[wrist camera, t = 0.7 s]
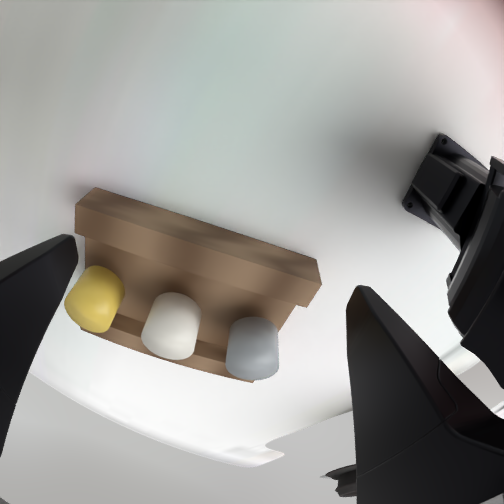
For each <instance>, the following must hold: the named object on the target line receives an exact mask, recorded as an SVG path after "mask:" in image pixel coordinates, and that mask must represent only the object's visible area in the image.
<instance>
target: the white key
mask: <svg viewBox="0 0 504 504" xmlns="http://www.w3.org/2000/svg"><path fill="white" fill-rule="evenodd" d="M201 315H202V314H201V309H200V307H199V306H198V304H197V303H196V302H195V301H194V300H192V299H191V298H189V297H188V296H186V295H183V294H180V293H175V292H168V293H163V294H161V295H159V296H158V297H157V298H156V299H155V301H154V303H153V305H152V308H151V310H150V313H149V315H148V318H147V321H146V323H145V326H144V328H143V331H142V334H141V339H142V342H143V344H144V345H145V346H146V347H147V348H148V349H149V350H150V351H151V352H153V353H154V354H156V355H158V356H160V357H163V358H166V359H172V360H181V359H185V358H188V357H190V356H191V355H192V354H193V352H194V348H195V343H196V339H197V334H198V330H199V325H200V321H201Z"/></svg>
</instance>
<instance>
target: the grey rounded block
mask: <svg viewBox="0 0 504 504" xmlns="http://www.w3.org/2000/svg"><path fill="white" fill-rule="evenodd" d="M225 365H226V369H227V370H228V372H230V373H231V374H232V375H234V376H236V377H238V378H241V379H246V380H261V379H266V378H269V377H271V376H272V375H274V374H275V373H276V372H277V371H278V368H279V353H278V330H277V328H276V326H275V325H274V324H273V323H272V322H271V321H269V320H267V319H264V318H260V317H245V318H242V319H239V320H237V321H235V322H234V323H233V324H232V325H231V327H230V331H229V339H228V347H227V355H226V364H225Z"/></svg>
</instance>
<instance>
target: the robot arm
mask: <svg viewBox="0 0 504 504" xmlns="http://www.w3.org/2000/svg"><path fill="white" fill-rule="evenodd" d="M443 138H444V142H443V143H442V142H441V141H442V139H443ZM490 165H491V166H490V170H488V169H487V168H486V167H484V166H483V165H482V164H481V163H480V162H479V161H478V160H477V159H475V158H474V157H473V156H472V155H471V154H469V153H468V152H467V151H466V150H465V149H463V148H462V147H461V146H460V145H458V144H457V143H456V142H455V141H453V140H452V139H451V138H449V137H448V136H447V135H444V134H439V135H438V136H437V137H436V139H435V141H434V144H433V146H432V148H431V149H430V151H429V153H428V154H427V155H426V157H425V159H424V161H423V163H422V165H421V167H420V169H419V171H418V172H417V174H416V176H415V178H414V180H413V182H412V185H411V187H410V189H409V191H408V192H407V194H406V196H405V198H404V199H403V202H402V206H403V208H404V209H405V210H406V211H408V212H410V213H412V214H414V215H416V216H417V217H419V218H421V219H423V220H425V221H427V222H428V223H430V224H432V225H434V226H436V227H437V228H439V229H441V230H442V231H443V232H444V233H445V235H446V236H447V237H448V238H449V239H450V240H451V242H452V243H453V244H454V245H455V246H456V248H457V249H458V250H459V251H460V255H459V257H458V259H457V262H456V264H455V266H454V268H453V270H452V272H451V273H449V275H448V278H447V280H446V282H447V286H448V293H447V296H448V302H449V306H450V308H449V310H448V314H449V317H450V319H451V321H452V322H453V324H454V326H455V327H456V329H457V330H458V331H459V333H460V334H461V336H462V337H463V339H462V340H461V342H460V344H461V346H463V347H464V348H466V349H467V350H469V351H470V352H472V353H474V354H475V355H476V356H477V357H478V358H479V359H480V360H481V361H483V362H484V363H485V365H486V366H487V367H488V368H489V370H490V371H491V373H492V374H493V376H494V377H495V379H496V380H497V382H498V383H499V385H500V386H501V388H503V389H504V161H503V160H501V159H499V158H496V157H494V156H491V160H490ZM409 202H411V204H410V205H409V206H407V204H408V203H409ZM77 263H78V252H77V247H76V242H75V238H74V237H73V236H72V235H68V234H61V235H59V236H56V237H54V238H52V239H49V240H47V241H45V242H42V243H40V244H38V245H35V246H33V247H31V248H29V249H26V250H24V251H22V252H20V253H18V254H15V255H13V256H11V257H9V258H7V259H5V260H3V261H1V262H0V457H1V454H2V451H3V447H4V443H5V439H6V435H7V432H8V429H9V425H10V421H11V419H12V416H13V412H14V409H15V406H16V403H17V400H18V397H19V395H20V392H21V389H22V386H23V383H24V381H25V379H26V376H27V374H28V371H29V369H30V366H31V364H32V361H33V359H34V357H35V354H36V352H37V350H38V348H39V345H40V343H41V341H42V339H43V337H44V334H45V332H46V330H47V328H48V326H49V324H50V322H51V320H52V318H53V316H54V314H55V312H56V310H57V308H58V306H59V304H60V302H61V300H62V298H63V296H64V293H65V291H66V288H67V286H68V284H69V281H70V279H71V277H72V275H73V272H74V270H75V268H76V266H77ZM346 328H347V358H348V367H349V376H350V386H351V396H352V407H353V419H354V432H355V450H356V476H357V478H356V483H357V504H504V419H502V418H500V417H498V416H497V415H495V414H494V413H493V412H492V411H491V410H490V409H488V407H486V405H485V404H484V403H483V402H482V401H480V399H478V397H476V396H475V395H474V394H473V393H472V392H471V391H470V390H469V389H468V388H467V387H466V386H465V385H464V384H463V383H462V382H461V381H460V380H459V379H458V378H457V377H456V376H455V374H454V373H453V372H452V371H451V370H450V369H449V368H448V367H447V366H446V365H445V364H444V363H443V361H442V360H439V357H438V356H437V355H436V354H435V353H434V352H433V351H432V350H431V349H430V347H429V346H428V345H427V344H426V343H425V342H424V341H423V340H422V339H421V338H420V337H419V336H418V335H417V334H416V333H415V332H414V331H413V330H412V329H411V327H410V326H409V325H408V324H407V323H406V322H405V321H404V320H403V319H402V318H401V317H400V316H399V315H398V314H397V313H396V312H395V311H394V310H393V309H392V308H391V307H390V306H389V305H388V304H387V303H386V302H385V301H384V300H383V299H382V298H381V297H380V296H379V295H378V294H377V293H376V292H375V291H374V290H373V289H372V288H371V287H369V286H363V285H358V286H356V288H355V289H354V291H353V294H352V296H351V298H350V300H349V302H348V304H347V308H346ZM0 504H9V503H7V502H6V501H5V500H3V499H2V498H0Z"/></svg>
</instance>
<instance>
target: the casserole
mask: <svg viewBox="0 0 504 504" xmlns="http://www.w3.org/2000/svg"><path fill="white" fill-rule="evenodd" d="M326 476H328V477H331V478H332V479H334V480H338V487H337V488H336V490H335V491H336V492H338V494H339V496H340V497H352V496H357V483H356V478H357V476H356V464H354V465H350V466H346V467H342V468H339V469H336V470H333V471H331V472H328V473H327V474H326Z"/></svg>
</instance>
